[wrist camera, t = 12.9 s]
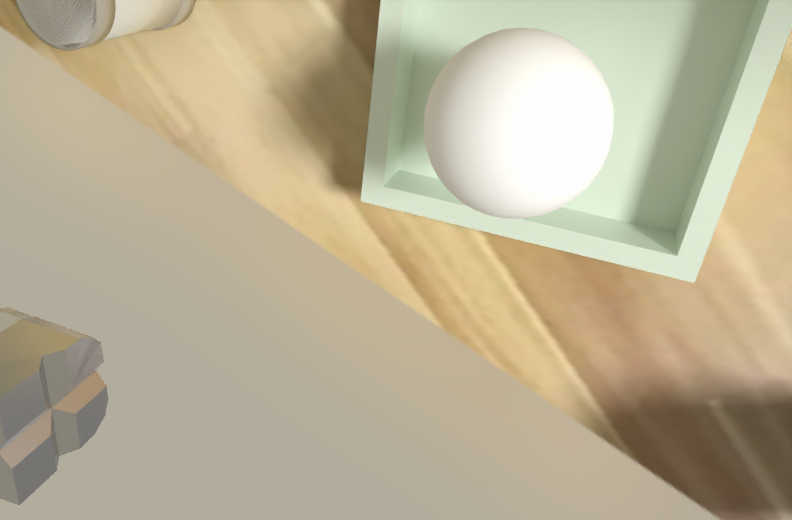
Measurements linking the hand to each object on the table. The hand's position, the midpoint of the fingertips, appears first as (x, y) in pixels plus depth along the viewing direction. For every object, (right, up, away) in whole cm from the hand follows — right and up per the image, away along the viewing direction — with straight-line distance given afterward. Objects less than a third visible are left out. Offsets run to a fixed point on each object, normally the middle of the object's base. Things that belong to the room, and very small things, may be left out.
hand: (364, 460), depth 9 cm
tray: (+8, +10, +21) cm, 24 cm away
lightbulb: (+7, +10, +20) cm, 24 cm away
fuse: (-11, +16, +25) cm, 32 cm away
